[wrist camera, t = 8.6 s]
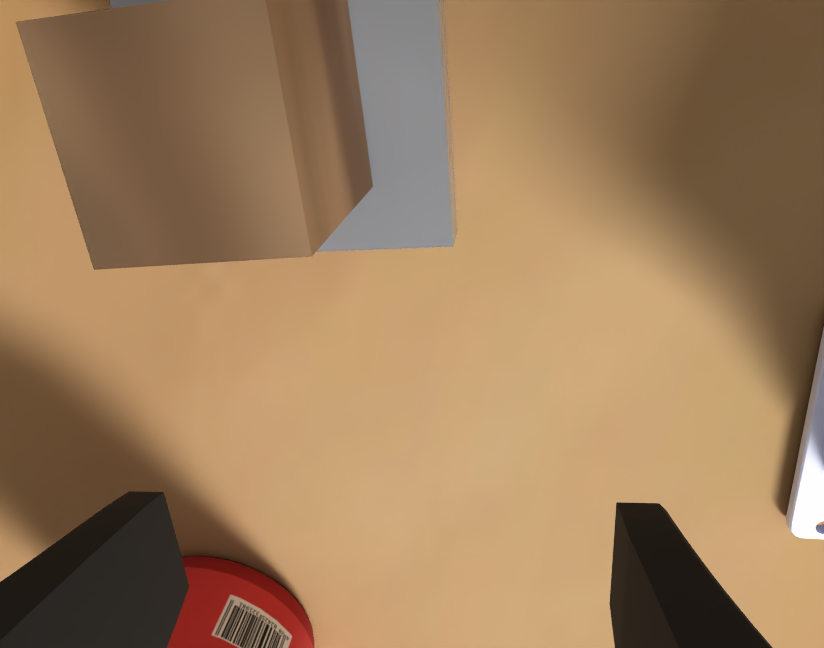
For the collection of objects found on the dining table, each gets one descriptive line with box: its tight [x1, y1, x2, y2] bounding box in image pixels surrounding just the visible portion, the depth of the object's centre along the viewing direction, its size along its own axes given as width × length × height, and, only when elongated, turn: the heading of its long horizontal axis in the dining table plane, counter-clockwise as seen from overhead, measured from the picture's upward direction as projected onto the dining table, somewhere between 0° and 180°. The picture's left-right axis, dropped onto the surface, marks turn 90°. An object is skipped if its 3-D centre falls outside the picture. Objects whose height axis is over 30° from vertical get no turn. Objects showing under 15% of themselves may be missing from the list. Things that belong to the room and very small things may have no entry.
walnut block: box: [16, 0, 373, 270], centre depth 15 cm, size 4×4×6 cm
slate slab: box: [109, 0, 457, 252], centre depth 18 cm, size 8×8×2 cm
